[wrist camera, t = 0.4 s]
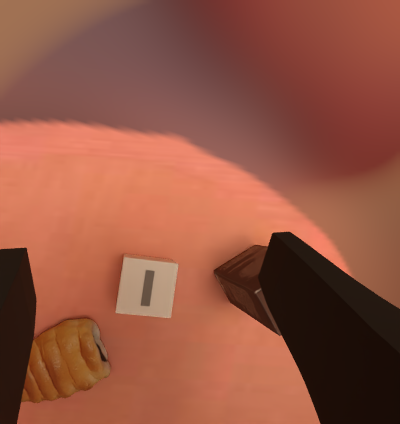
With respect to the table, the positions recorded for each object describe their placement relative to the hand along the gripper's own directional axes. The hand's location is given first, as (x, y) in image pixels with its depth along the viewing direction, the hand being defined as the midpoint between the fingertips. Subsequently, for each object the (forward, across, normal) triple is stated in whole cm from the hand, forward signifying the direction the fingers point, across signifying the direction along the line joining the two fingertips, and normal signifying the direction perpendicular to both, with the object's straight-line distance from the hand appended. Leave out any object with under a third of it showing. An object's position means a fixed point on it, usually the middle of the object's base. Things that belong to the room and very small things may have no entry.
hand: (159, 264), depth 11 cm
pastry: (+14, +5, +26) cm, 30 cm away
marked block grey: (+18, -3, +20) cm, 27 cm away
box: (+17, -14, +20) cm, 30 cm away
